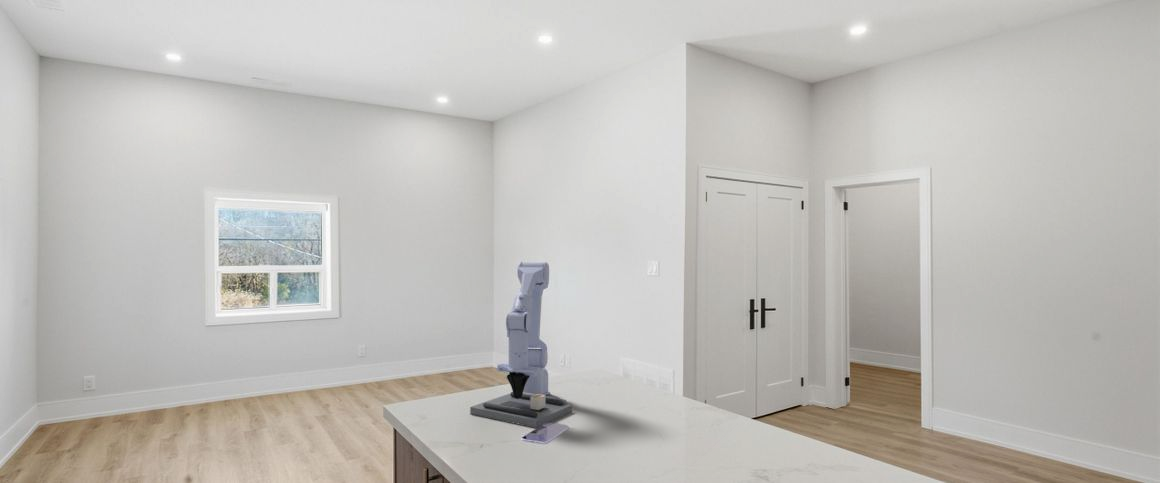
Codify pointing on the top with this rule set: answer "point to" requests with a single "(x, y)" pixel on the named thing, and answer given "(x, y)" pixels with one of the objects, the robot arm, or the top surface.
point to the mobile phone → (545, 433)
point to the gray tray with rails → (524, 412)
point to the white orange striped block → (537, 401)
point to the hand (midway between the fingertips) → (518, 397)
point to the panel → (543, 416)
